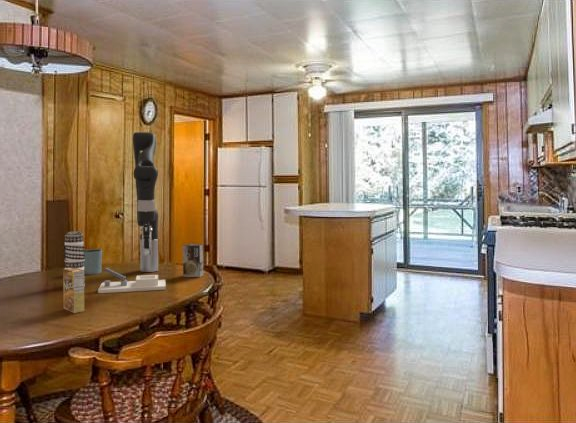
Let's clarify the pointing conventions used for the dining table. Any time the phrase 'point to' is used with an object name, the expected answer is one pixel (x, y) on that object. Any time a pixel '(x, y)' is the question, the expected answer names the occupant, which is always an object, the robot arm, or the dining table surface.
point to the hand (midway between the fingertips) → (146, 247)
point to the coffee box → (193, 260)
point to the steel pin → (148, 251)
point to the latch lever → (115, 273)
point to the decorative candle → (74, 250)
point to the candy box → (73, 289)
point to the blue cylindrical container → (92, 261)
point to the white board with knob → (133, 285)
